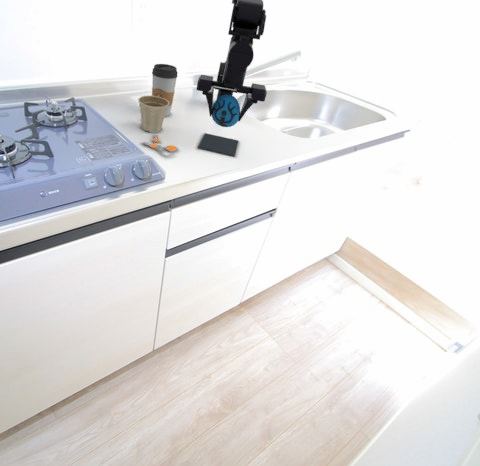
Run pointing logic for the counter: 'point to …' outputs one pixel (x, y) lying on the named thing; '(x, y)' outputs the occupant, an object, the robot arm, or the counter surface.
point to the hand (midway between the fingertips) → (224, 118)
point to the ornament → (226, 110)
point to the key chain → (169, 148)
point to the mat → (218, 144)
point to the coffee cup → (164, 83)
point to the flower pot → (152, 112)
